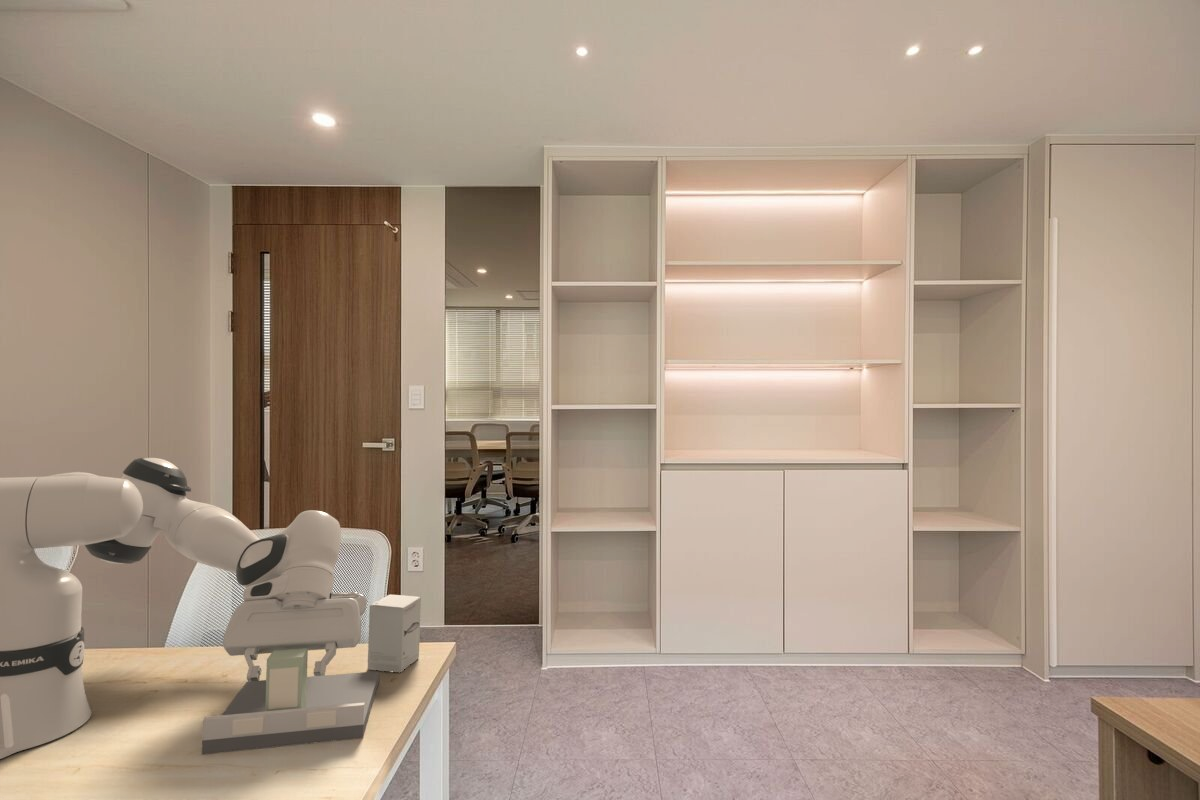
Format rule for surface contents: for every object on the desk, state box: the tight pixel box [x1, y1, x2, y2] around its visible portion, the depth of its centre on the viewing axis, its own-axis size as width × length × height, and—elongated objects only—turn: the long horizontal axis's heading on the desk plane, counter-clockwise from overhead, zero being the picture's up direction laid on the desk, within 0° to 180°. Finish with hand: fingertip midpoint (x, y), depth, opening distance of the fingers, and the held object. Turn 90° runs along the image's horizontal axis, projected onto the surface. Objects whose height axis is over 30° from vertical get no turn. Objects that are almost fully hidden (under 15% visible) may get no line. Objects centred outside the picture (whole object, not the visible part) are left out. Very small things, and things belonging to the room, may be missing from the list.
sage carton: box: [265, 648, 309, 711], centre depth 93 cm, size 5×4×10 cm
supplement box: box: [366, 594, 422, 674], centre depth 118 cm, size 7×7×13 cm
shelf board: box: [201, 670, 380, 755], centre depth 98 cm, size 22×19×5 cm
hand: (286, 677), depth 93 cm, fingers open, 8 cm apart
